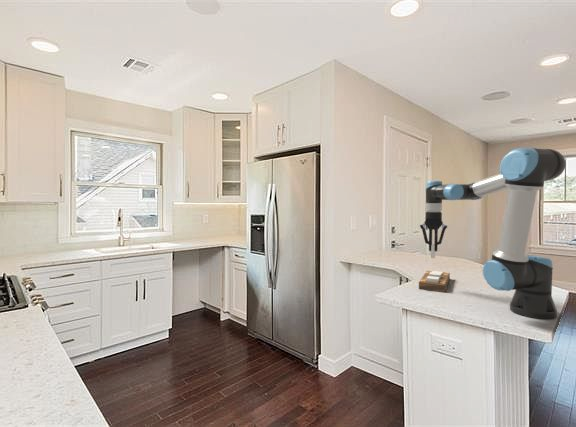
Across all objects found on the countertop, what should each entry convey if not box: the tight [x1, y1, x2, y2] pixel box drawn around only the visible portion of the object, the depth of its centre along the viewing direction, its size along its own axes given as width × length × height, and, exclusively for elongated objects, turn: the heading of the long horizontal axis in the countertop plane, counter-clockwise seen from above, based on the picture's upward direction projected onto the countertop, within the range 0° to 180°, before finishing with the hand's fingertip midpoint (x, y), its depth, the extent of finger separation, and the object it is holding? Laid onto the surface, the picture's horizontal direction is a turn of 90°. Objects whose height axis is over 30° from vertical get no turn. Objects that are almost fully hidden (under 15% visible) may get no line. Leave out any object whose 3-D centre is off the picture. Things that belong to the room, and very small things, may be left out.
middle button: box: [429, 272, 441, 279], centre depth 174 cm, size 5×5×3 cm
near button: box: [427, 276, 439, 283], centre depth 166 cm, size 5×5×3 cm
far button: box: [431, 270, 444, 275], centre depth 183 cm, size 5×5×3 cm
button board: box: [418, 270, 451, 293], centre depth 174 cm, size 30×12×4 cm, turn 149°
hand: (433, 257), depth 165 cm, fingers closed
